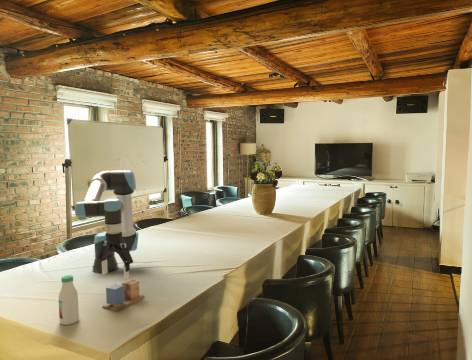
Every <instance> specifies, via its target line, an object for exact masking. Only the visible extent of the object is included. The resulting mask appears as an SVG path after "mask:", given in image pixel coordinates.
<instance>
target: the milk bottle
mask: <svg viewBox="0 0 472 360" xmlns="http://www.w3.org/2000/svg"><path fill="white" fill-rule="evenodd" d="M61 284H62V285H61V288H60V291H59V294H58V315H59V317H58V318H59V319H58V320H59V323H60V325H63V326H68V325H72V324H75V323H77V322H78V321H79V319H80V311H79V310H80V309H79V296H78V290H77V289H76V287H75V285H74V275H70V274H69V275H64V276H62V277H61Z"/></svg>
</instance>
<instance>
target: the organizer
mask: <svg viewBox="0 0 472 360" xmlns="http://www.w3.org/2000/svg"><path fill="white" fill-rule="evenodd" d="M121 285H124V294H125V301H123V302H121V303H120V304H118V305H112V304H107V303H105V304H103V305H102V309H107V310H110V311H114V312H118V313H119V312H121V311H123V310H124V309H126V308H128V307H129V306H131V305H133V304H135V303H136V302H138V301H139V300H143V298H145V295H143V294H140V281H139V280H137V279H132V278H129V279H128V280H127V279H126V280H125V281H123V282H122V283H121Z"/></svg>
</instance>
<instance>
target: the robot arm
mask: <svg viewBox="0 0 472 360" xmlns="http://www.w3.org/2000/svg"><path fill="white" fill-rule="evenodd" d="M135 190H137V184H136V177H135V173H134V171H133V170H126V169H124V170H105V171H101V172H99V173H97V174H95V175H94V176H92V178H91V179H90V180H89V182H88V189H87V192H86V194H85V196H84V198H83V200H82V201H79V202H75V205H74V215H75V216H76V217H77V218H93V217H94V218H95V217H96V218H97V217H104V229H105V230H104V231H103V232H99V233H97V234H96V235H94V241H93V243H94V257H95V258H94V260H93V265H92V272H94V273H101V274H102V275H106V274H108V273H109V272H113V271H115V270H118V268H119V263H118V262H117V258H116V256H115V253H116V254H118V257H120V259H121V261H122V262H123V264H122V265H123V266H122V267H123V279H126V280H127V278H130V269H131V264H132V263H134V260H133V257H132V255H131V253H130V252H135V251H137V250H138V243H139V232H137V230H136V228H135V227H134V218H133V201H132V198H133V197H132V194H133V193H134V191H135ZM105 191H113V194H114V195H115V196H116V198H108V199H105V200H101V198H102V197H103V193H105Z"/></svg>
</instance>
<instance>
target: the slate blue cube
mask: <svg viewBox="0 0 472 360" xmlns="http://www.w3.org/2000/svg"><path fill="white" fill-rule="evenodd" d="M105 291H106V292H105V293H106V304H112V305H118V304H120V303H121V302H123V301H125V294H124V285H122V284H119V283H113V284H111V285H108V286H107V287H105Z"/></svg>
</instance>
